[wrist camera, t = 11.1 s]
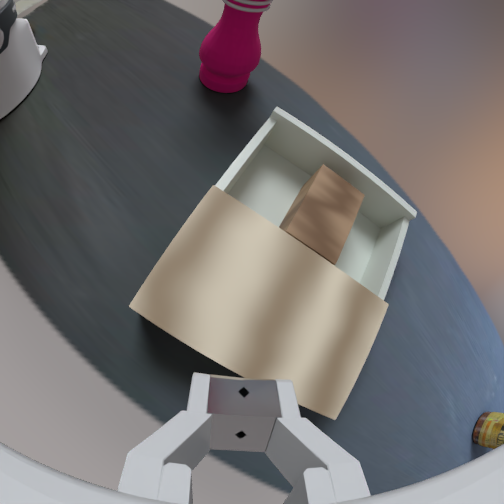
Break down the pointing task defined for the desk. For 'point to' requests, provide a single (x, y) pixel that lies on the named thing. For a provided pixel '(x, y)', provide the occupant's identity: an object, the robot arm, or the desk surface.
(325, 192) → the walnut block
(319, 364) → the beige box sleeve
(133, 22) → the desk surface
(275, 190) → the tray
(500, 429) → the sauce bottle
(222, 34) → the pepper mill
